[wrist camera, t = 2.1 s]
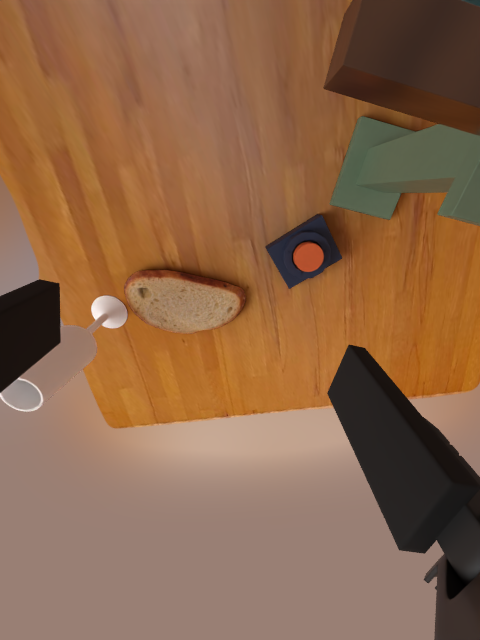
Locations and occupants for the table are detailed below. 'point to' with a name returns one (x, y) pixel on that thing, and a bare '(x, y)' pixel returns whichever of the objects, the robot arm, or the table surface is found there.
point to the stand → (409, 169)
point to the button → (308, 256)
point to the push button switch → (287, 244)
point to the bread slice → (182, 300)
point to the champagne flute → (63, 358)
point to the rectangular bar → (412, 59)
